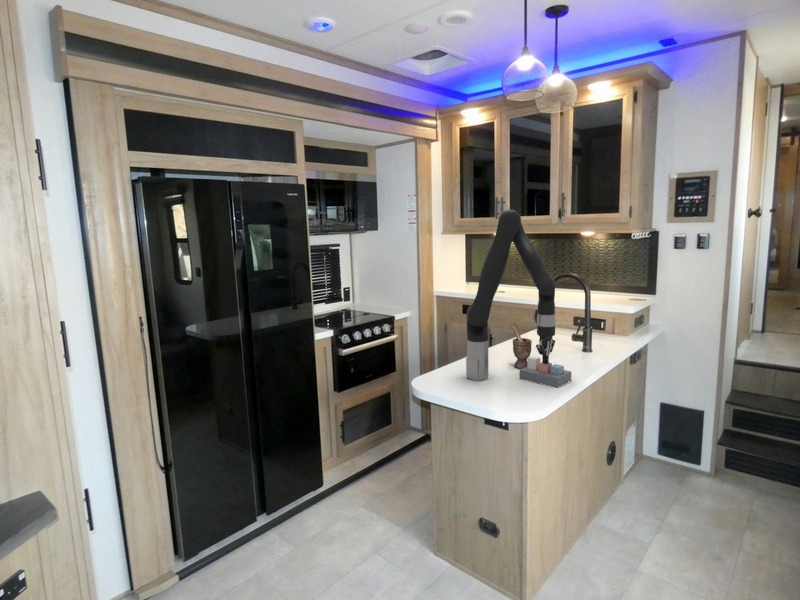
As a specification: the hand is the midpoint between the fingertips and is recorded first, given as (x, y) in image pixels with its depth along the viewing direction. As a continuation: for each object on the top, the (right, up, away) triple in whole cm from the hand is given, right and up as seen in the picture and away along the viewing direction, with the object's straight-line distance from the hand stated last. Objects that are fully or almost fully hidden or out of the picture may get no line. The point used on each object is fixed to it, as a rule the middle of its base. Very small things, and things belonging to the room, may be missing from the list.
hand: (545, 363), depth 206 cm
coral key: (0, -5, +1) cm, 5 cm away
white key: (-4, -3, +4) cm, 7 cm away
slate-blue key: (+4, -6, -3) cm, 7 cm away
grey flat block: (0, -7, +1) cm, 7 cm away
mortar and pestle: (-6, -4, +22) cm, 23 cm away
